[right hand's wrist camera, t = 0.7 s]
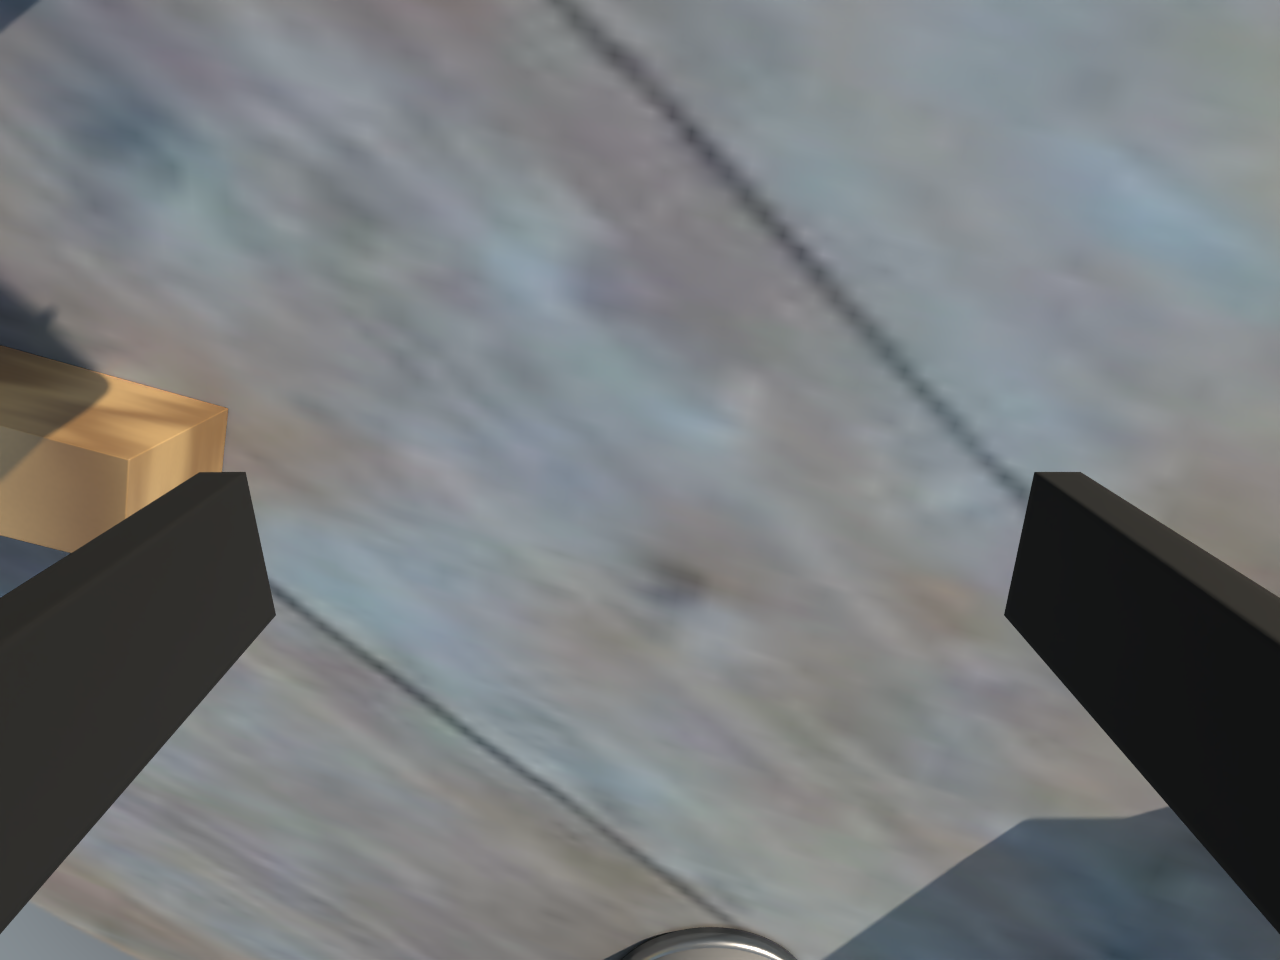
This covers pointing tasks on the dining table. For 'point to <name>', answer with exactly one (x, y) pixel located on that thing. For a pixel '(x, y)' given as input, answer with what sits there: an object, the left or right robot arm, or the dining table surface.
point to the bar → (92, 448)
